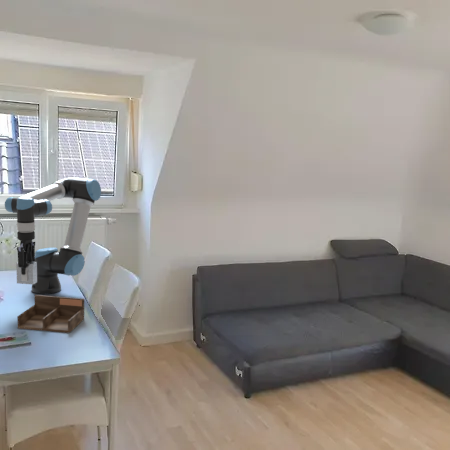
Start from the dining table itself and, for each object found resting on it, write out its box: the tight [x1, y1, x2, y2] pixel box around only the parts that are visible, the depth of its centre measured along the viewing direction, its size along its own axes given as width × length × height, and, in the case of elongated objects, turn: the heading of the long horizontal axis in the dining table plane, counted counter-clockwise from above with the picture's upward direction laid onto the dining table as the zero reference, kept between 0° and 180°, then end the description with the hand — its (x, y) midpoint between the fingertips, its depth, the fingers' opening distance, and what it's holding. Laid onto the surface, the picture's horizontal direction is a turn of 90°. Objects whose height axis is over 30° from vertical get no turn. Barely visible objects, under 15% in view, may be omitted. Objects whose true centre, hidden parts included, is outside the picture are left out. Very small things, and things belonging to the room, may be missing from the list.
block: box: [15, 261, 37, 286], centre depth 231 cm, size 4×8×10 cm, turn 85°
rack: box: [16, 294, 85, 334], centre depth 220 cm, size 17×23×10 cm
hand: (27, 279), depth 232 cm, fingers closed on block, 4 cm apart
